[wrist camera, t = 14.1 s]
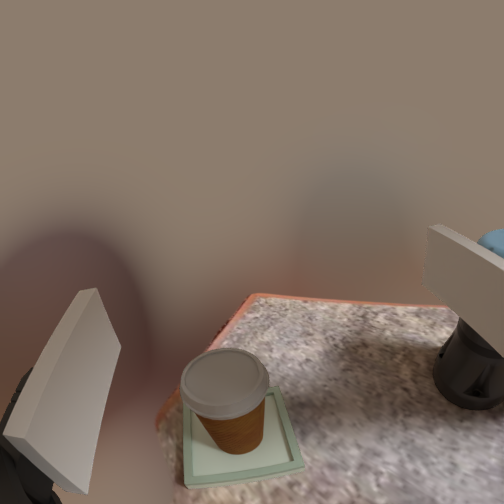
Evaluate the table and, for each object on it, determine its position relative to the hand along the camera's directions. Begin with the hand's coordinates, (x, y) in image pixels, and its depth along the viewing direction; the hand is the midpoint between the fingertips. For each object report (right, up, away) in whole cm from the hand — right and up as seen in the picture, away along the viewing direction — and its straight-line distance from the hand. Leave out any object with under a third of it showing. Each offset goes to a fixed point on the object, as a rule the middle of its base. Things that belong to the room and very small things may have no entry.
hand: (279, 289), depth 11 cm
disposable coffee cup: (-3, -22, +23) cm, 32 cm away
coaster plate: (-3, -23, +23) cm, 33 cm away
